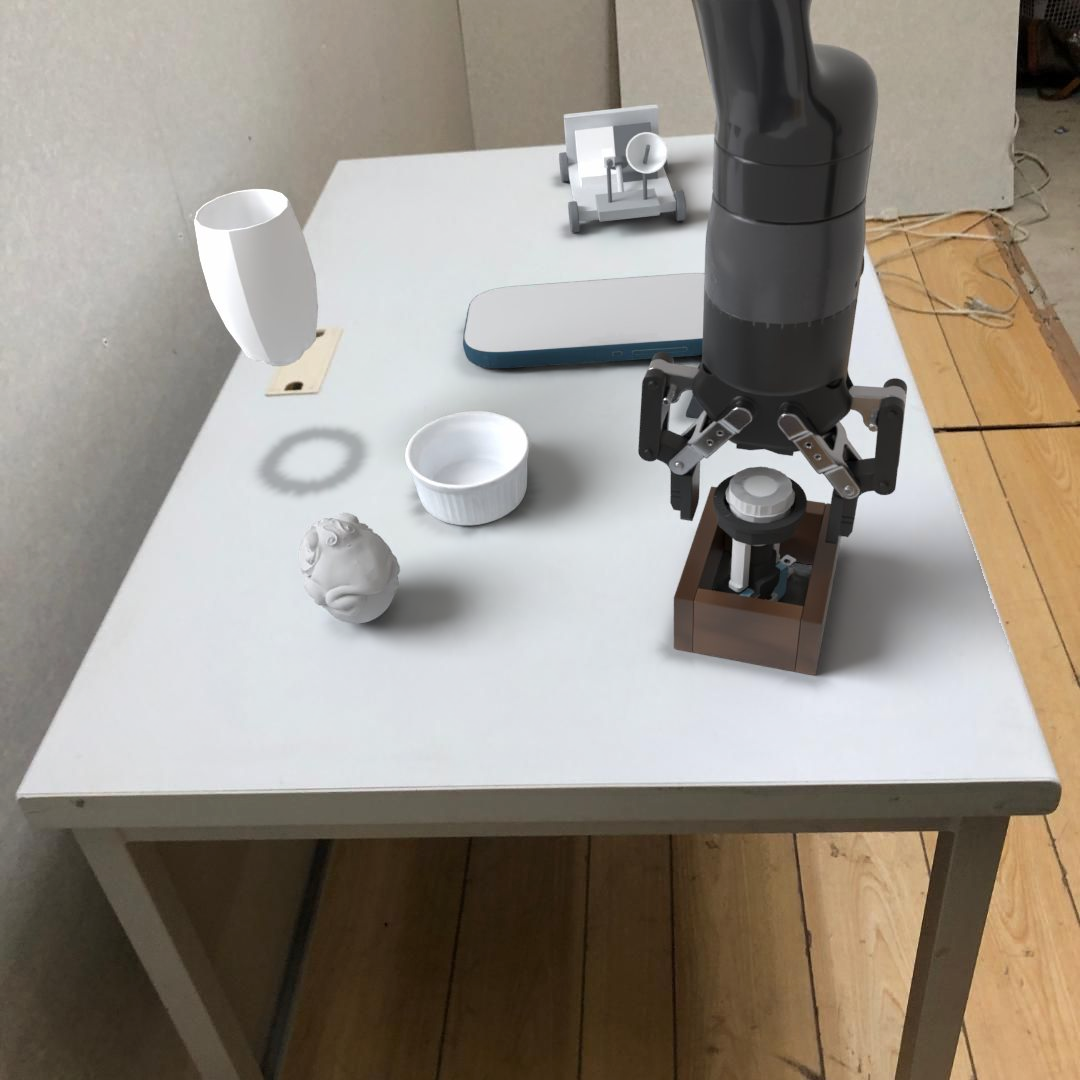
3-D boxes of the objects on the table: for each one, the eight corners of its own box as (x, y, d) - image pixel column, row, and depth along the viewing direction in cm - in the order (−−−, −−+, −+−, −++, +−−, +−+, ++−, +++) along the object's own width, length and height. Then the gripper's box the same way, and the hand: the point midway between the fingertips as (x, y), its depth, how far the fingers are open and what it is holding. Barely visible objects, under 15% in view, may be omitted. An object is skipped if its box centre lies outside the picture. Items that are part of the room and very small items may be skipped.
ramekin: (546, 461, 81) (542, 414, 78) (516, 539, 74) (510, 491, 71) (436, 451, 83) (428, 405, 80) (398, 526, 76) (387, 479, 73)
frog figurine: (367, 561, 74) (346, 484, 69) (430, 610, 70) (412, 531, 65) (294, 608, 71) (267, 530, 66) (355, 662, 67) (331, 583, 62)
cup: (367, 430, 86) (307, 182, 72) (349, 487, 80) (281, 232, 66) (280, 432, 86) (204, 188, 72) (257, 490, 81) (170, 237, 67)
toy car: (691, 139, 98) (567, 152, 99) (690, 237, 105) (574, 250, 105) (662, 72, 112) (553, 84, 112) (663, 163, 118) (560, 174, 119)
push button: (759, 555, 71) (768, 435, 64) (824, 594, 68) (841, 472, 61) (692, 608, 68) (694, 488, 61) (758, 651, 65) (768, 529, 58)
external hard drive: (730, 289, 96) (730, 269, 95) (743, 358, 88) (744, 337, 86) (473, 307, 99) (470, 288, 97) (461, 376, 90) (458, 356, 89)
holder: (838, 556, 70) (845, 505, 67) (815, 676, 63) (822, 624, 60) (709, 536, 73) (711, 486, 70) (673, 649, 66) (673, 597, 63)
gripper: (621, 303, 52) (628, 545, 63) (927, 333, 48) (877, 587, 59) (658, 232, 57) (658, 468, 68) (937, 254, 53) (890, 501, 64)
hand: (760, 523), depth 63 cm, fingers open, 8 cm apart
